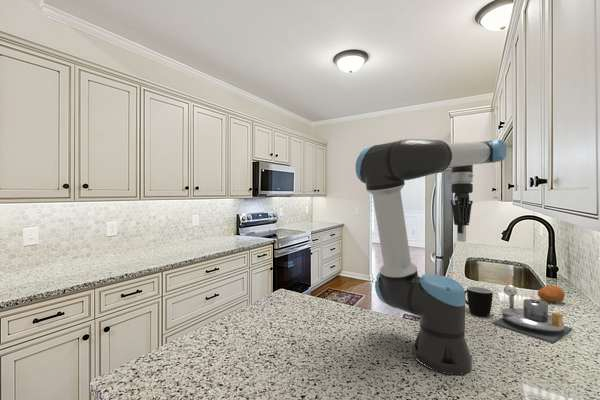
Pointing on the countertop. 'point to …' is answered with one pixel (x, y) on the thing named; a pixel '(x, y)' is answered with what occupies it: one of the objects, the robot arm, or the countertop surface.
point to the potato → (551, 294)
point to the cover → (535, 310)
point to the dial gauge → (510, 294)
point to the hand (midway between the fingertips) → (461, 241)
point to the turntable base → (533, 331)
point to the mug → (479, 301)
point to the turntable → (517, 318)
